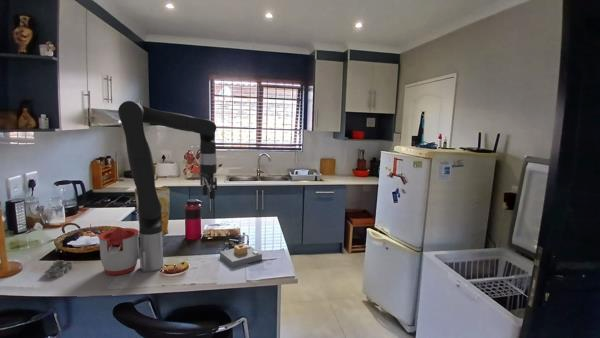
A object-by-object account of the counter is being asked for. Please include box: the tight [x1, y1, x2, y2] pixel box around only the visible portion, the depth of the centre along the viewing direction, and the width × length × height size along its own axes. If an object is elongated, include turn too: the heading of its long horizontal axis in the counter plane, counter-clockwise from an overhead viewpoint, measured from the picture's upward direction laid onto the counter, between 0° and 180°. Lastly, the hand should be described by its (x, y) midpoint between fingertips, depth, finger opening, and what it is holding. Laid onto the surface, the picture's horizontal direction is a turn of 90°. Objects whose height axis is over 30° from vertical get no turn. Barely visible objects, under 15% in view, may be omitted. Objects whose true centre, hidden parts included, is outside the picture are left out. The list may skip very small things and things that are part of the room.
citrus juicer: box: [98, 226, 140, 276], centre depth 142 cm, size 16×17×20 cm
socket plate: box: [219, 244, 263, 269], centre depth 159 cm, size 16×14×4 cm
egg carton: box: [43, 259, 74, 279], centre depth 140 cm, size 11×8×4 cm
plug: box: [233, 243, 247, 256], centre depth 159 cm, size 5×4×7 cm
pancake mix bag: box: [134, 186, 171, 235], centre depth 189 cm, size 7×19×28 cm, turn 104°
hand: (208, 196), depth 151 cm, fingers open, 8 cm apart
